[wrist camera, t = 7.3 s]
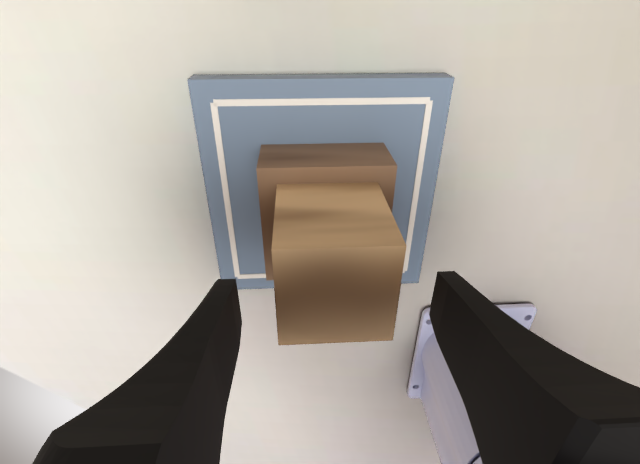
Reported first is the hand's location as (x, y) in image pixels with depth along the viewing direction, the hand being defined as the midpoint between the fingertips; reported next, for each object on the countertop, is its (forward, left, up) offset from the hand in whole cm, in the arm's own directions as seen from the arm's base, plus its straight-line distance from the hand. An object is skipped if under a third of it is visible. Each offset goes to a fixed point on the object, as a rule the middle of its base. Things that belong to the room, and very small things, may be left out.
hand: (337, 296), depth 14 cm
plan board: (0, 0, -9) cm, 9 cm away
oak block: (0, 0, -5) cm, 5 cm away
